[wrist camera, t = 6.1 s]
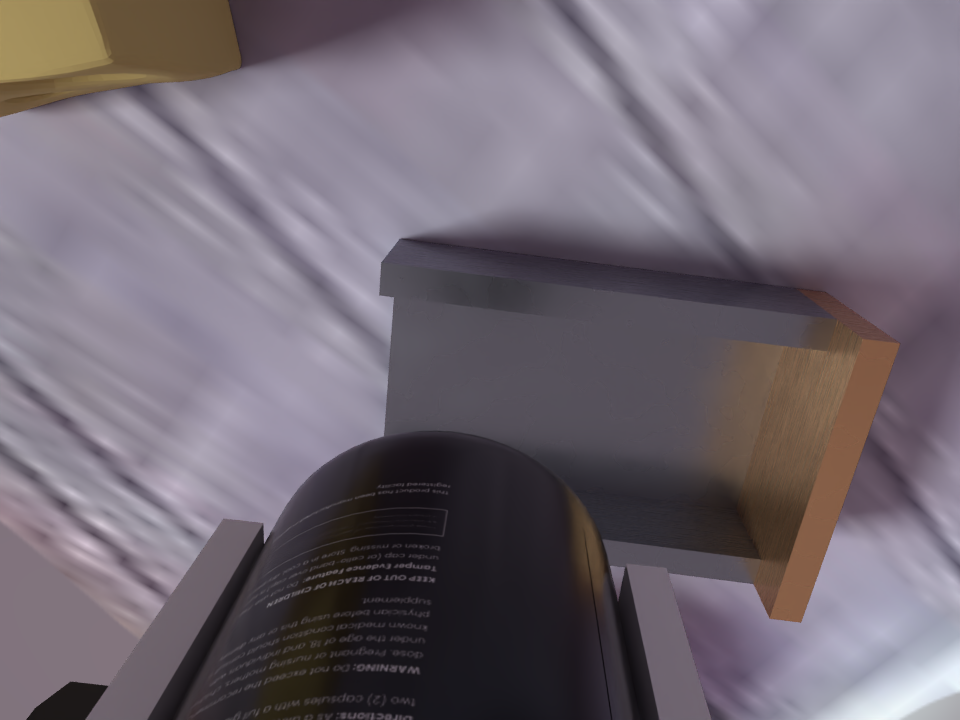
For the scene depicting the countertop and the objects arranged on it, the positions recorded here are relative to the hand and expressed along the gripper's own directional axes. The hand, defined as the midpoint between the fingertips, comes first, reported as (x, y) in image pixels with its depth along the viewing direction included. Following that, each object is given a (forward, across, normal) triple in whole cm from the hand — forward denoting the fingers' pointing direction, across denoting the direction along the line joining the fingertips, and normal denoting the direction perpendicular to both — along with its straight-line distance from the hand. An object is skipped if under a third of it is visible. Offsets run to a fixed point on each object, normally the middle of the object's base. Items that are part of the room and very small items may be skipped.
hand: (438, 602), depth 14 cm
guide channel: (+17, +4, -3) cm, 18 cm away
